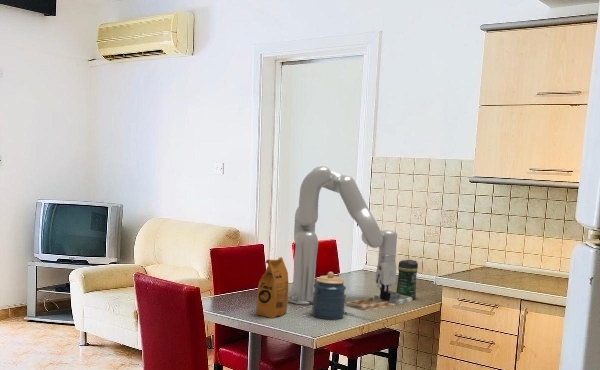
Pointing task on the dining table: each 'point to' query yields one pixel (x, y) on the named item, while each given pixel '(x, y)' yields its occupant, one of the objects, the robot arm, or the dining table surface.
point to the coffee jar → (407, 278)
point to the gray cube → (390, 298)
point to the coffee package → (273, 290)
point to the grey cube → (395, 294)
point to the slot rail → (375, 303)
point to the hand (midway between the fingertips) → (383, 299)
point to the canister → (329, 297)
